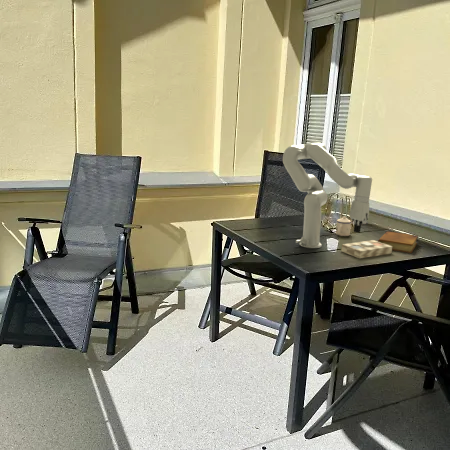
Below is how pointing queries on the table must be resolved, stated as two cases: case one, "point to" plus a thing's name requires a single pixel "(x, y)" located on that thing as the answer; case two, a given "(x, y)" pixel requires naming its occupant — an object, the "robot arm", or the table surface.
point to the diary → (399, 241)
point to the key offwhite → (367, 244)
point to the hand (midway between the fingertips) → (356, 231)
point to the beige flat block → (366, 249)
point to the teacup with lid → (343, 227)
